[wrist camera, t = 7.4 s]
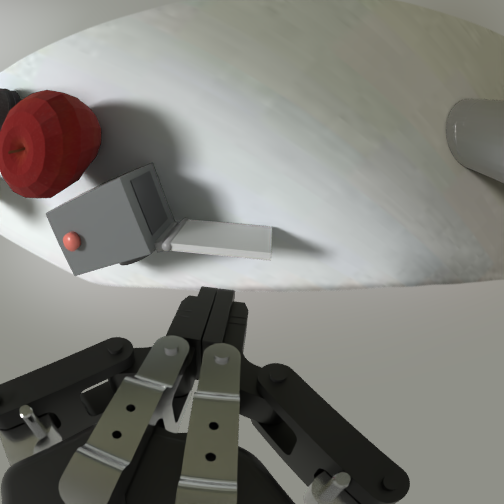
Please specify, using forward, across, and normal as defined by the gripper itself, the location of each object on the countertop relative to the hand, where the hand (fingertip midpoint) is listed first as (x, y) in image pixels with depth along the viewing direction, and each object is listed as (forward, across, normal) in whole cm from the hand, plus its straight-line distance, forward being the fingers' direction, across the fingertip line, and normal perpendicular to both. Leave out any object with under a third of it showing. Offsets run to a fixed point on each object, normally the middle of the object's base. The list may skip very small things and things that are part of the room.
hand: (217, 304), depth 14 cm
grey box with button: (+22, +16, +4) cm, 27 cm away
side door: (+22, +3, +5) cm, 22 cm away
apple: (+22, +22, -6) cm, 32 cm away
